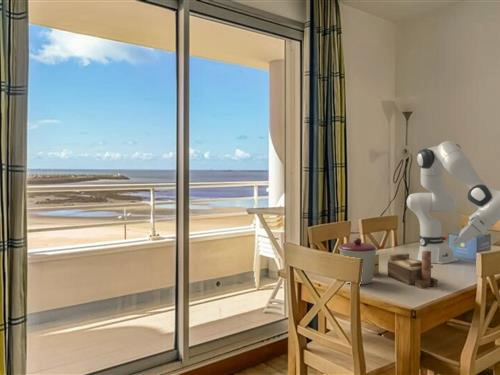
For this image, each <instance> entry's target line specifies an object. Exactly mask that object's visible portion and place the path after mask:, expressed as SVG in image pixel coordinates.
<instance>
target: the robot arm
mask: <svg viewBox="0 0 500 375" xmlns="http://www.w3.org/2000/svg"><path fill="white" fill-rule="evenodd" d="M416 161H417V162H416V163H417V165H418V167H420V185H421V186H422V187H423V189H426V190H427V191H429V192H414V193H411V194H409V195H408V196H407V198H406V206H407V208H408V209H409V210H410V211H411V212H413V213H414V214H415V216H416V217H417V220H418V222H419V237H418V239H419V240H418V241H419V248H418V249H419V250H418V254H417V258H416V261H420V262H422V251H431V264H440V265H443V264H450V263H454V262H457V261H459V258H457V257H456V256H454V255H455V254H454V250H453V248H452V247H450V246H449V245H447V244H446V243H445V242H446V241H448V237H447V236H442V223H441V221H440V220H439V219H437V218H435V217H433V216H431V215H430V213H448V212H452V211H454V209H455V208H456V206H457V199H456V197H455V196H454V195H453V194H452V193H451V192H449V191H448V190H447V189H446V188H445V185H444V180H443V170H444V169H445V170H446V171H447V172H448V173H449V174H451V176H453V177H454V178H455V179H456V180H458V181H460V182H461V183H463V184H465V185H466V186H467V188H468V189H469V191H468V192H467V200H468V201H469V203H471V205H473V206H474V207H475V208H476V209H477V210H476V211H474V212H473V213H472V214H470V215H469V216H468V219H469V221H467V224H466V225H465V226H464V227H463V228H462V229H461V230H460V232H459V234H458V235H457V236H456V237H455V238H454V239H453V242H452V243H451V245H452V246H453V247H455V248H456V247H458V246H459V245H460V244H462V243H468V242H469V241H471V240H472V239H475V237H477V236H478V235H480V234H485V233H487V232H488V231H489V230H490V229H491V228H493V227H494V226H495V225H496V224H497V223H498V222H499V221H500V190H498V189H494V188H491V187H489V186H487V185H486V184H485V182H484V181H483V180H482V179H481V178H480V176H479V174H478V173H477V171H476V169H475V168H474V165H473V164H472V162H471V160H470V159H469V157H468V155H467V154H466V153H465V152H464V150H463V149H462V147H461V146H460V145H459V144H458V143H455V142H454V141H451V140H447V141H443V142H441V143H439V144H438V145H435V146H432V147H428V148H423V149H421V150H419V151H418V152H417V155H416ZM443 167H444V169H443Z"/></svg>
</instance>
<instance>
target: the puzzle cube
mask: <svg viewBox="0 0 500 375" xmlns="http://www.w3.org/2000/svg"><path fill="white" fill-rule="evenodd" d="M379 263H380V254H378V253H376V257H375V266H374V273H373V276H376V275H377V274H379V273H380V267H379V266H380V264H379Z"/></svg>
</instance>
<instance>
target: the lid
mask: <svg viewBox="0 0 500 375" xmlns="http://www.w3.org/2000/svg"><path fill="white" fill-rule="evenodd" d="M389 256H390V257H389V259H387V263H388V262H389V263H392V264H395V265H398V266H401V267H404V268H407V269H409V270H419V269H422V261H419V260H417V259H413V258H410V253H408V252H407V253H397V254H390V255H389ZM431 269H434V265H433V264H431Z"/></svg>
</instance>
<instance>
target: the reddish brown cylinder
mask: <svg viewBox="0 0 500 375" xmlns="http://www.w3.org/2000/svg"><path fill="white" fill-rule="evenodd" d="M421 262H422V281H425V288H432V286H431V278H432V268H431V265H432V263H431V251H422V261H421Z"/></svg>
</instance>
